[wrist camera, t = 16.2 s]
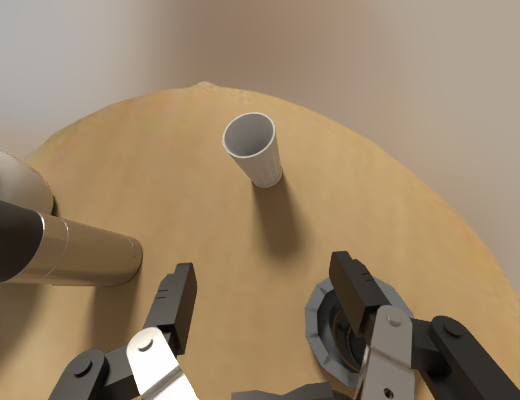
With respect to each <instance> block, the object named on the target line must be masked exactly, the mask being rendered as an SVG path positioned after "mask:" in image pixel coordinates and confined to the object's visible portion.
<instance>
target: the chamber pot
mask: <svg viewBox="0 0 520 400" xmlns="http://www.w3.org/2000/svg"><path fill="white" fill-rule="evenodd" d="M0 200H1V201H4V202H7V203H10V204H13V205H16V206H19V207H22V208H26V209H30V210H33V211H37V212H40V213H44V214H48V215H51V214H52V210H53V206H54V200H53V194H52V192H51V189H50V187H49V185H48V184H47V183H46V181H45V180H44V179H43V177H42V176H41V175H40V173H39V172H37V171H36V170H34V169H33V168H32V167H30V166H28V165H27V164H25V163H24V162H22V161H21V160H19V159H17V158H16V157H14V156H12V155H10V154H8V153H5V152H3V151H1V150H0Z"/></svg>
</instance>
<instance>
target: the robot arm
mask: <svg viewBox="0 0 520 400" xmlns="http://www.w3.org/2000/svg"><path fill="white" fill-rule="evenodd" d="M141 259H142V249H141V246H140V244H139V242H138V241H137V240H136V239H134V238H132V237H129V236H125V235H121V234H118V233H114V232H111V231H107V230H103V229H100V228H96V227H92V226H89V225H85V224H81V223H78V222H74V221H70V220H66V219H63V218H59V217H55V216H51V215H48V214H44V213H40V212H37V211H33V210H30V209H26V208H22V207H19V206H16V205H13V204H10V203H7V202H4V201H1V200H0V283H27V284H29V283H32V284H52V285H53V286H107V285H120V284H123V283H125V282H127V281H129V280H130V279H131V278H132V277H133V276H134V275H135V273H136V272H137V270H138V268H139V266H140V263H141ZM329 277H330V281H331V283H332V286H333V288H334V290H335V292H336V294H337V297H338V299H339V301H340V303H341V305H342V307H343V310H344V312H345V314H346V316H347V318H348V321H349V323H350V325H351V327H352V329H353V332H354V334H355V336H356V338H357V337H364V338H365V340H366V342H367V343H366V347H365V352H364V356H363V361H362V366H361V370H360V375H359V380H358V384H357V388H356V391H355V395H354V399H351V398H349V397H348V396H346V395H344V394H342V393H340V392H337V391H334V390H332V389H331V386H330V383H329V382H324V383H315V384H306V385H304V386H302V387H300V388H297V389H295V390H293V391H291V392H289V393H287V394H285V395H277V394H272V393H267V392H262V391H257V390H254V391H245V392H236V393H232V398H231V400H414V387H415V374H414V370H413V369H417V370H419V372H420V374H421V376H422V377H423V379H424V381H425V383H426V385H427V386H428V388H429V390H430V392H431V393H432V395H433V397H434V399H435V400H520V390H519V389H518V388H517V387H516V386H515V384H514V383H513V382H512V381H511V380H510V379H509V377H508V376H507V375H506V374H505V373H504V372H503V370H502V369H501V368H500V367H499V366H498V365H497V363H496V362H495V361H494V360H493V359H492V358H491V356H490V355H489V354H488V353H487V352H486V351H485V349H484V348H483V347H482V346H481V345H480V344H479V342H478V341H477V340H476V339H475V338H474V337H473V335H472V334H471V333H470V332H469V331H468V330H467V329H466V327H464V326H463V325H462V324H461V323H459V322H458V321H456V320H454V319H452V318H450V317H447V316H436V317H434V318H433V320H432V321H431V322H428V321H423V320H418V319H414V318H410V317H408V315H407V314H406V313H405V312H403V311H402V310H400V309H399V308H397V307H394V306H392V305H391V303H390V302H389V300H388V299H387V297H386V296H385V294H384V293H383V292H382V290H381V289H380V287H379V286H378V284H377V283H376V281H374V278H373V277H372V275H370V272H369V271H368V270H367V268H366V267H365V265H363V264H362V263H361V262H360V261H358V260H357V259H354V260H352V258H351V257H350V255H349V253H348V252H347V251H337V252H332V256H331V262H330V268H329ZM196 294H197V281H196V276H195V272H194V268H193V264H192V263H179V264H177V266H176V269H175V272H174V274H168V275H167V276H166V277H165V278H164V279H163V280H162V281H161V283H160V286H159V288H158V292H157V294H156V296H155V300H154V301H153V304H152V306H151V309H150V311H149V314H148V317H147V319H146V322H145V324H144V327H143V329H142V331H140V332H138V333H137V334H136V335H135V336H134V337H133V338H132V339H131V341H130V342H129V343H128V344H127V345H125V346H122V347H120V348H118V349H115V350H113V351H110V352H108V353H105V354H104V353H103V352H102V351H101V350H99V349H91V350H87V351H85V352H83V353H81V354H80V355H78V356H77V357H75V358H74V359H73V360H72V361H71V362H70V363H69V364H68V366H67V367H66V368H65V370H64V372H63V373H62V375H61V377H60V379H59V381H58V382H57V384H56V386H55V388H54V390H53V391H52V393H51V395H50V397H49V399H48V400H131V399H133V398H135V397H137V396H139V395H141V398H142V400H197V398H196V396H195V394H194V392H193V390H192V388H191V386H190V384H189V382H188V380H187V379H186V377H185V375H184V373H183V371H182V369H181V368H180V367H179V365H178V363H177V361H176V358H177V355H183V354H184V353H185V348H186V344H187V339H188V334H189V329H190V324H191V319H192V314H193V309H194V304H195V299H196ZM411 368H413V369H411Z"/></svg>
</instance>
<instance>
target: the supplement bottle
mask: <svg viewBox="0 0 520 400" xmlns="http://www.w3.org/2000/svg"><path fill="white" fill-rule="evenodd" d="M329 328H330V332H331V334H332V337H333V340H334V343H335V346H336V348H337V350H338V352H339V354H340V356H341V357H342V358H343V360H344V361H345V362H346V363H347V364H348V365H349V366H350V367H351V368H353V369H354V370H356V371H357V372H359V373H360V370H361V366H362V361H363V356H364V352H365V347H366V343H367V342H366V340H365V338H364V337H357V338H356V336H355V334H354V332H353V329H352V327H351V325H350V323H349V321H348V318H347V316H346V314H345V312H344V310H343V307H342V305H341V303H340V301H338V302H337V303H335V305H334V306H333V307H332V309H331V311H330V314H329Z"/></svg>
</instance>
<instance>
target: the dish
mask: <svg viewBox="0 0 520 400" xmlns="http://www.w3.org/2000/svg"><path fill="white" fill-rule="evenodd" d="M372 277H373V276H372ZM373 278H374V281H376V283H377V284H378V286H379V287H380V289H381V290H382V292H383V293H384V294H385V296H386V297H387V299H388V300H389V302H390V303H391V305H392V306H394V307H397V308H399V309H400V310H402V311H403V312H405V313H406V314H407V315H408V317H410V318H414V316H413V313H412V312H411V310H410V309H409V308H408V307H407V305H406V304H405V303H404V301H403V300H402V299H401V297H400V296H399V295H398V293H397V292H396V291H395V289H394V288H393V287H392V286H390V285H388V284H386V283H384V282H383V281H381V280H379V279H377V278H375V277H373ZM338 301H339V299H338V297H337V294H336V292H335V290H334V288H333V286H332V283H331V281H330V277H329V278H327V279H326V280H324V281H322V282H321V283H319V284H317V285H316V287H315V289H314V291H313V293H312V295H311V297H310V299H309V301H308V303H307V305H306V307H305V321H306V338H307V340H308V342H309V344H310V346H311V348H312V350H313V352H314V353H315V355H316V357H317V359H318V361H319V363H320V365H321V366H322V368H324V369H325V370H326V371H328V372H329V373H330V374H332V375H333V376H334V377H336V378H337V379H338V380H340V381H341V382H342V383H344V384H345V385H346V386H348V387H349V388H357V384H358V380H359V375H360V373H359V372H357V371H356V370H354V369H353V368H351V367H350V366H349V365H348V364H347V363H346V362H345V361H344V360H343V358H342V357H341V356H340V354H339V352H338V350H337V348H336V346H335V343H334V340H333V337H332V334H331V332H330V328H329V314H330V311H331V309H332V307H333V306H334V305H335V303H337V302H338Z"/></svg>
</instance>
